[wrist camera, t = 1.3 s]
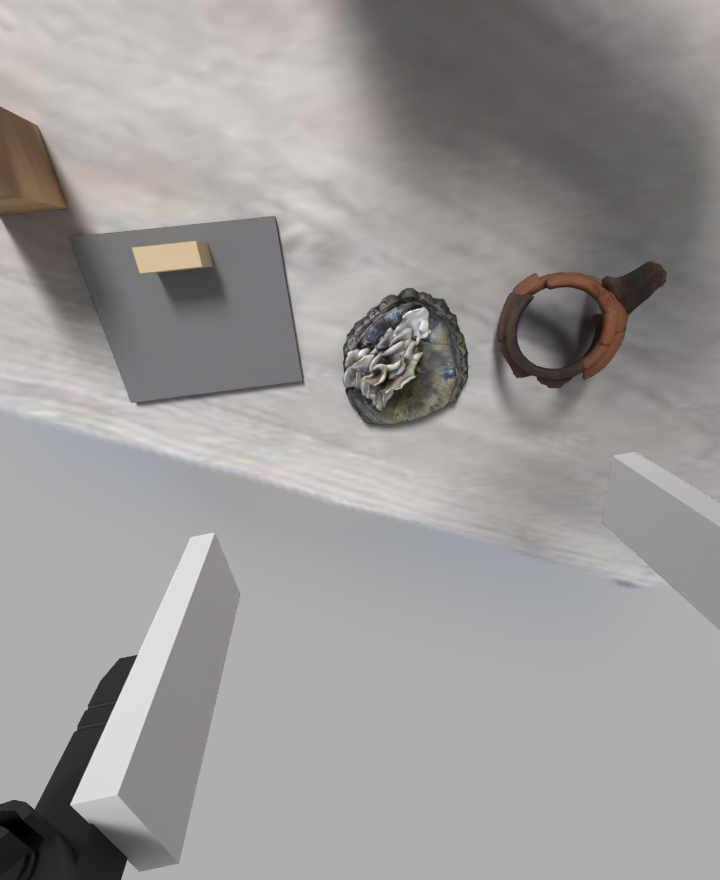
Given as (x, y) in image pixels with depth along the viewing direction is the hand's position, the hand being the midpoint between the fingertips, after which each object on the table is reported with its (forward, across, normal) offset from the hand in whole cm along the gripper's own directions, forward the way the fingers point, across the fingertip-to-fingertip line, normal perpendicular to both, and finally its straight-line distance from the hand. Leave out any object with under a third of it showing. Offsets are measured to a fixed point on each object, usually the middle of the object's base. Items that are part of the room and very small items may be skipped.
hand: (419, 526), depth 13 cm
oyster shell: (+23, +4, -1) cm, 23 cm away
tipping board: (+22, -11, +6) cm, 25 cm away
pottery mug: (+22, +18, +1) cm, 28 cm away
